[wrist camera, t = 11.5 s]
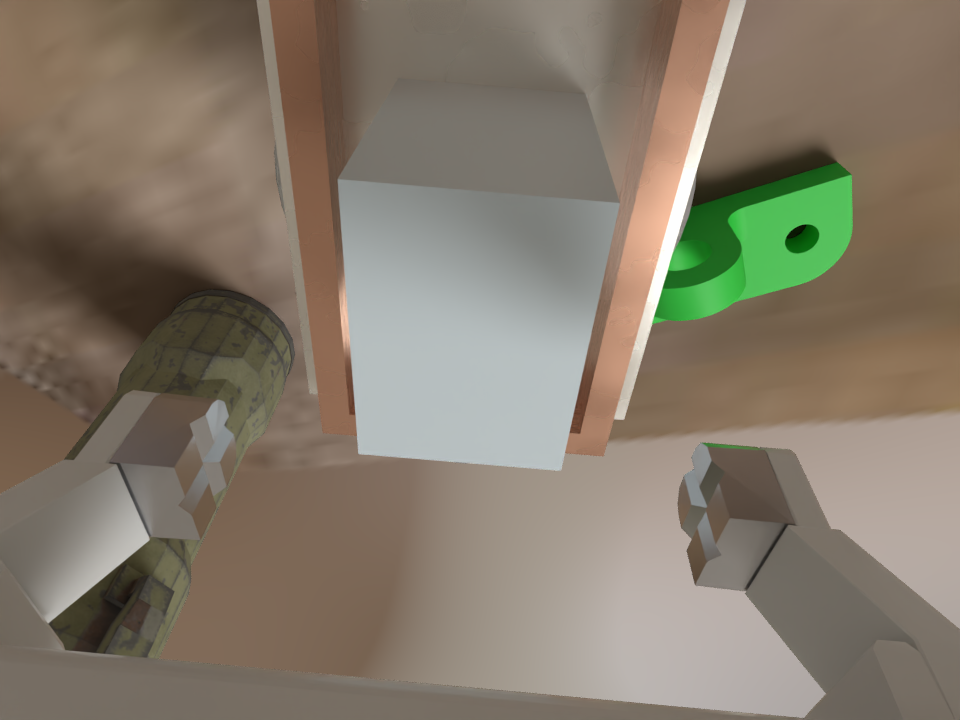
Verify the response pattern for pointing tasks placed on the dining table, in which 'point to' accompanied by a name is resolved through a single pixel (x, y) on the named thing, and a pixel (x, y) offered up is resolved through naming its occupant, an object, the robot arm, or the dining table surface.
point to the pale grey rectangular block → (473, 270)
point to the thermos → (167, 561)
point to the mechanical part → (757, 243)
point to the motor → (514, 64)
